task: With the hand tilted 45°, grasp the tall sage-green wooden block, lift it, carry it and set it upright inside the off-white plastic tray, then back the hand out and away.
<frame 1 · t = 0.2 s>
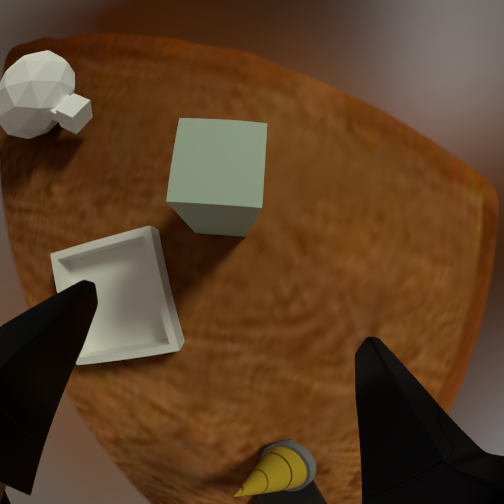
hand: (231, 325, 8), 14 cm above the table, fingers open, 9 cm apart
perfume bottle: (58, 120, 22), on the table
drill bit: (271, 454, 22), on the table
phone stand: (296, 502, 22), on the table
tray: (119, 297, 22), on the table
block: (222, 210, 23), on the table
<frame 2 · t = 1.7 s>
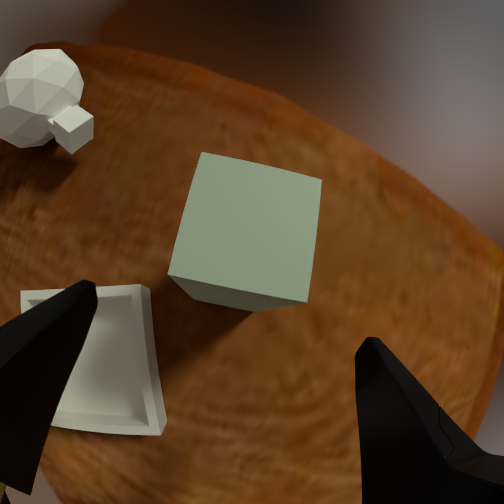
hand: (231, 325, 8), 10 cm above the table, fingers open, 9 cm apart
perfume bottle: (57, 135, 20), on the table
tray: (94, 358, 16), on the table
block: (229, 276, 19), on the table
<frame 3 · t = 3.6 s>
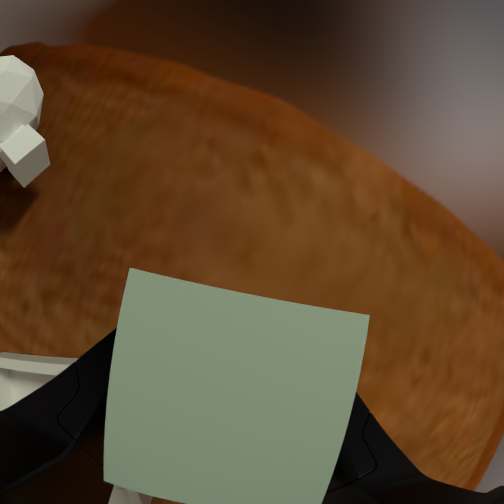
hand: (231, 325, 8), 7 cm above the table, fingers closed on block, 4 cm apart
perfume bottle: (18, 156, 15), on the table
tray: (69, 427, 12), on the table
block: (219, 346, 14), on the table, touching gripper
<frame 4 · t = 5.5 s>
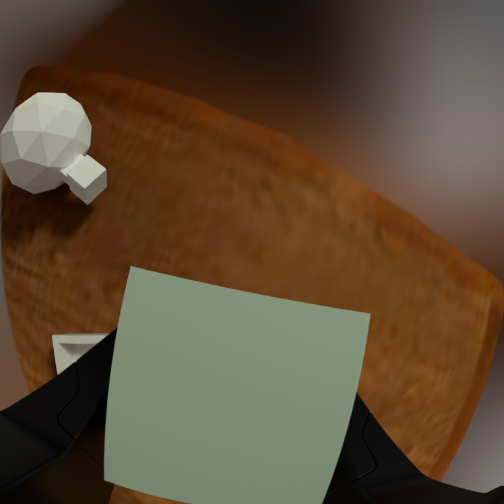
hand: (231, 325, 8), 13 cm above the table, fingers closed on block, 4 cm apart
perfume bottle: (68, 175, 22), on the table
tray: (123, 389, 19), on the table
block: (219, 346, 14), point 7 cm above the table, touching gripper
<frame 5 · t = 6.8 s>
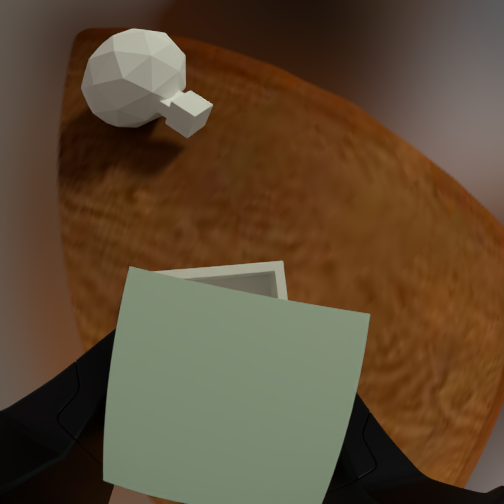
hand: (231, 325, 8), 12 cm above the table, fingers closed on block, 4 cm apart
perfume bottle: (148, 119, 23), on the table
tray: (218, 337, 19), on the table
block: (219, 346, 14), point 5 cm above the table, touching gripper
when the fingers open (9 cm above the table, at t = 7.7 s): block drops 1 cm, resting on tray.
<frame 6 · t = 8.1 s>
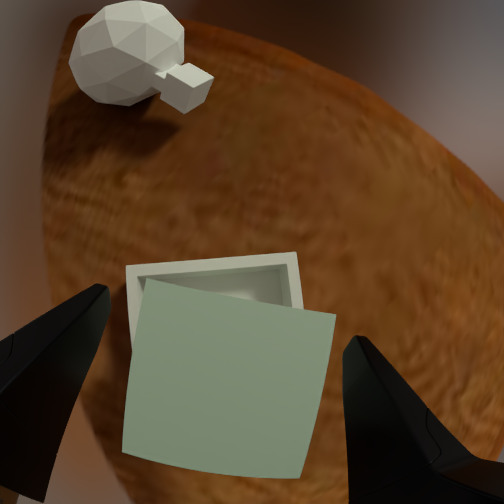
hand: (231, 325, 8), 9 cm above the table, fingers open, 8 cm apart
perfume bottle: (142, 98, 20), on the table
tray: (218, 342, 16), on the table
block: (218, 343, 16), point 1 cm above the table, touching tray
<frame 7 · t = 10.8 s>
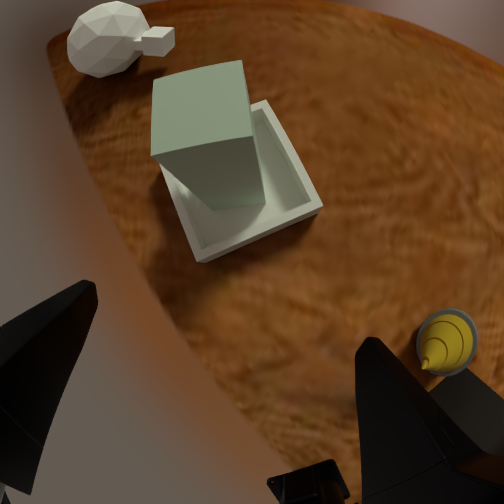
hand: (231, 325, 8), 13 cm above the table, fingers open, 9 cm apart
perfume bottle: (131, 64, 24), on the table
drill bit: (423, 342, 20), on the table
phone stand: (448, 412, 19), on the table
tray: (237, 183, 22), on the table
block: (236, 181, 21), point 1 cm above the table, touching tray
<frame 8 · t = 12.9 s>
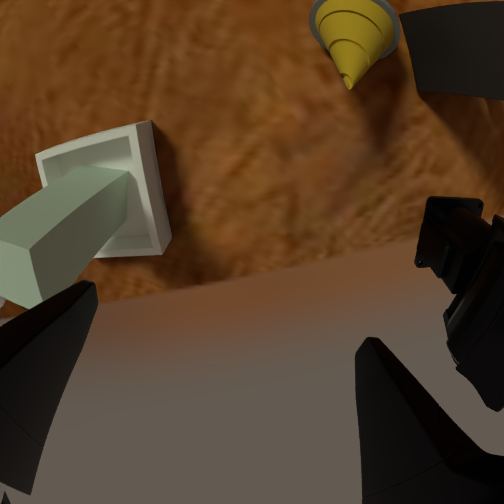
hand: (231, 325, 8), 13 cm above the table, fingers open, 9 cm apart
perfume bottle: (3, 252, 24), on the table
drill bit: (345, 45, 14), on the table
phone stand: (452, 55, 13), on the table
tray: (108, 189, 20), on the table
block: (104, 192, 19), point 1 cm above the table, touching tray
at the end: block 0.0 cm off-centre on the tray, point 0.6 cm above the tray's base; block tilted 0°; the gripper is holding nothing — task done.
